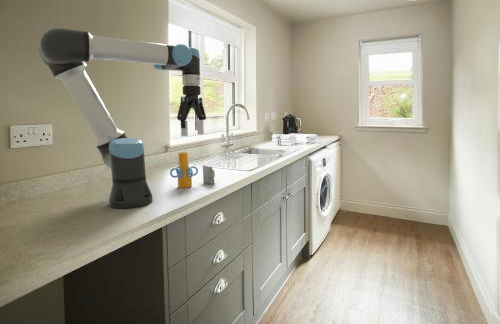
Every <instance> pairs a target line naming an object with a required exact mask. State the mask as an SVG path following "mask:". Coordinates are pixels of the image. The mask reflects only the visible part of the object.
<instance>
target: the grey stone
mask: <svg viewBox="0 0 500 324" xmlns="http://www.w3.org/2000/svg"><path fill="white" fill-rule="evenodd" d="M215 176H216V173H215V171H214V169H213V167H212V166H211V165H207V164H202V177H203V183H205V184H208V185H210V186H211V185H214V184H215Z"/></svg>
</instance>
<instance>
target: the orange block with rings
mask: <svg viewBox="0 0 500 324" xmlns="http://www.w3.org/2000/svg"><path fill="white" fill-rule="evenodd" d="M177 158H178V166H176V167H173V168H172V169H170V172H169V175H170V176H171V178H175V179H176V178H177V186H178V188H180V189H185V188H190V187H192V185H193V184H192V183H193V182H192V177H194V176H196V175H198V173H199V170H198V168H197V166H194V165H192V166H189V153H188V151H187V152H186V151H182V152H178V157H177ZM193 169H195V170H196V171H195V173H194V172H193ZM173 171H175V173H176V175H174V174H173Z"/></svg>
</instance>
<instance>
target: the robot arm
mask: <svg viewBox="0 0 500 324" xmlns="http://www.w3.org/2000/svg"><path fill="white" fill-rule="evenodd" d="M38 50H39V55H40V58H41V61H42V62H44V63H45V65H47V67H48V69H49V70H50V72H51V73H52V75H53V77H54V78H55V79H57V80H60V81H62V83H63V85H64V87H65V88H66V90H67V92H68V93H69V95H70V97H71V98H72V100H73V101H74V103H75V105H76V107H77V109H78V111H79V112H80V113H81V115H82V116H83V118H84V120H85V122H86V123H87V125H88V127H89V128H90V130H91V132H92V133H93V135H94V137H95V139H96V143H95V147H96V148H97V150H98V152H99V154H100V155H101V159H102V161H103V162H104V164H105V166H107V167H108V168H110V169H111V178H112V179H111V181H112V186H111V189H110V194H109V198H108V203H109V204H108V205H109V207H110V208H113V209H130V208H131V209H132V208H138V207H143V206H147V205H150V204H151V203H152V202H153V200H154V199H153V194H152V191H151V189H150V186H149V185H148V181H147V175H146V174H147V173H146V163H145V162H146V161H145V147H144V142H143V141H142V140H140V139H138V138H130V137H128V136H127V134H126V133H125V131H124V130H120V129H119V128H118V127H117V125H116V123H115V122H114V120H113V118H112V116H111V114H110V113H109V111H108V109H107V108H106V106H105V103H104V102H103V100H102V99H101V97H100V95H99V93H98V91H97V89H96V88H95V86H94V84H93V83H92V81H91V79H90V77H89V75H88V74H87V72H86V68H87V63H90V62H91V61H93V60H96V61H98V60H99V61H111V62H112V61H113V62H121V63H122V62H123V63H135V64H146V65H153V68H154V69H156V70H161V71H178V72H181V73H182V75H181V79H182V80H181V81H182V83H181V84H182V85H183V86H182V95H183V96H180V103H179V108H178V111H177V112H178V113H177V116H176V118H177V120H178V121H180V132H181V133H180V134H181V137H189V134H188V133H189V132H188V131H189V130H188V120H187V118H188V115H189V113H190V111H191V109H193V111H194V113H195V115H196V118H197V119H196V121H197V122H196V123H197V126H196V127H197V130H196V131H197V135H200V136H202V135H204V134H205V133H204V121H205V120H206V119H207V116H206V110H205V108H204V107H205V106H204V104H203V97H199V96H200V95H201V94H202V93H201V76H200V75H201V67H200V66H201V56H200V50H199V49H198V48H196V47H189V46H188V45H187V44H183V43H179V44H178V43H177V44H176V45H174V44H173V45H172V44H164V43H159V42H149V41H142V40H141V41H140V40H131V39H125V38H114V37H107V36H99V35H98V36H97V35H92V34H91V33H90V32H89V31H84V30H77V29H72V28H71V29H70V28H63V27H54V28H50V29H48V30H46V31H45V32H44V33H43V34H42V35H41V37H40V41H39V47H38ZM86 62H87V63H86Z"/></svg>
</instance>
